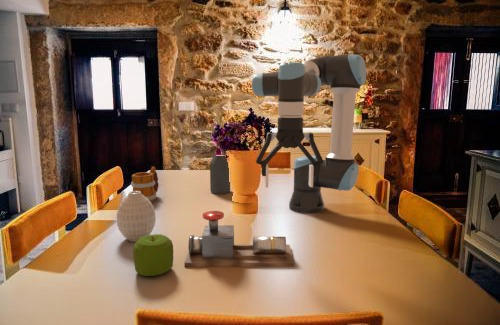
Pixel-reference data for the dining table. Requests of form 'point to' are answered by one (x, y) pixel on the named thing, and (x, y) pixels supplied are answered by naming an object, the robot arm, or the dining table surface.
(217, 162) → the bottle
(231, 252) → the gate valve
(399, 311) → the dining table surface
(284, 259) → the board
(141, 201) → the vase
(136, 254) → the apple
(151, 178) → the mug
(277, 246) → the pipe
